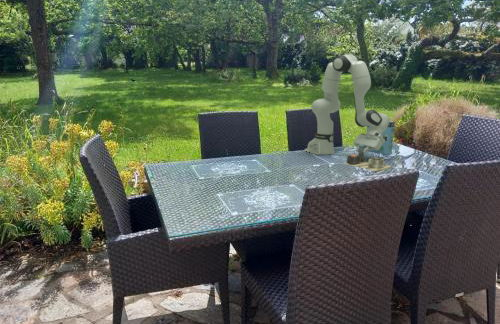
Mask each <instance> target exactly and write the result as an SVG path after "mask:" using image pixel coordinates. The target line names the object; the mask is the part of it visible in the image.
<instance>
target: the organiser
mask: <svg viewBox="0 0 500 324" xmlns="http://www.w3.org/2000/svg"><path fill="white" fill-rule="evenodd" d="M343 164H344V165H348V166H352V167H356V168H361V169H366V170H369V171H373V172H374V173H379V172H383V171H385V170H390V169H391V168H392V165H388V164H385V159H384V158H380V157H379V158H378V157H372V158H368V160H364V162H360V156H359V155H357V157H355V158H354V157H351V155H347V156H346V162H345V163H343Z"/></svg>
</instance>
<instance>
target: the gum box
mask: <svg viewBox="0 0 500 324" xmlns="http://www.w3.org/2000/svg"><path fill="white" fill-rule="evenodd" d="M369 128H370V126H369V125H368V126H366V132H367V131H368V129H369ZM394 133H395V121H390V122H389V124H388V126H387V128H386V129H385V131H384V132H383V133H382V135H381V136H382V137H383V138H384V140H385V141H384V142H383V144H382V146H381V147H380V149H379V150H372V149H370V150H369V152H372V153H378V154H383V155H388V156H389V155H392V153H393V143H394ZM365 149H366V148H364V150H365Z"/></svg>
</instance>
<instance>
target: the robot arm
mask: <svg viewBox="0 0 500 324" xmlns="http://www.w3.org/2000/svg"><path fill="white" fill-rule="evenodd" d="M343 73H349V74H350V75H351V80H352V83H353V100H354V101H353V102H354V108H355V110H354V111H355V114H354V120H355V124H356V125H357V126H358V127H360V128H364V127H367V126H368V125H369V126H370V128H369V129H368V131H367V130H366V132H365V133H360V134H359V135H357V136H356V137H355V139H353V142H352V143H353V144H354V146H356V147H357V149H356V152H358V153H359V144H364V145H365V147H364V150H363V151H362V152H363V153H364V154H366V153H368V151H369V150H370V149H372V150H379V149H380V147H381V146H382V144H383V142H384V141H385V140H384V138H383V137H382V136H381V135H382V133H383V132H384V131H385V129H386V128H387V126H388V124H389V122H390V120H391V119H390V117H389V116H388V115H387V114H386V113H385V112H384V113H381V112H378V111H376V110H375V109H367V110H366V107H365V106H366V105H365V95H366V93H367V92H368V91H369V90H370V88H371V86H372V80H371V79H372V78H371V75H370V71H369V69H368V66H367V64H366V62H365V61H363V60H360V58H359V57H358V56H357V55H355V54H349V53H345V54H339V55H337V56H335V57H334V58H333V60H332V61H331V62H329V63H328V64H327V66H326V69H325V72H324V75H323V81H322V85H321V90H322V91H323V98H318V99H316V100H314V101H313V102H312V103H311V107H310V108H311V112H312V113H313V114H314V115H315V117H316V122H317V124H316V125H317V130H316V131H317V132H316V133H314V136H315V137H314V138H313V139H312V140H310V141H309V142H308V143H307V148H305V149H304V150H303V151H304V152H306V151H307V153H309V152H310V154H313V155H324V156H325V155H333V154H335V153H336V152H335V148H334V137H335V136H334V135H335V134H334V121H333V120H332V119H331V114H334V113H336V112H338V111H339V110H340V108H341V101H340V99H339V87H340V82H341V76H342V74H343ZM365 148H366V149H365ZM369 152H370V151H369Z"/></svg>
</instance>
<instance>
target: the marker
mask: <svg viewBox="0 0 500 324" xmlns="http://www.w3.org/2000/svg"><path fill="white" fill-rule="evenodd" d="M364 147H365V145H364V144H359V152H358V156H360V162H364V161H365V153H363V152H362V151H363V150H365V148H364Z"/></svg>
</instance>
